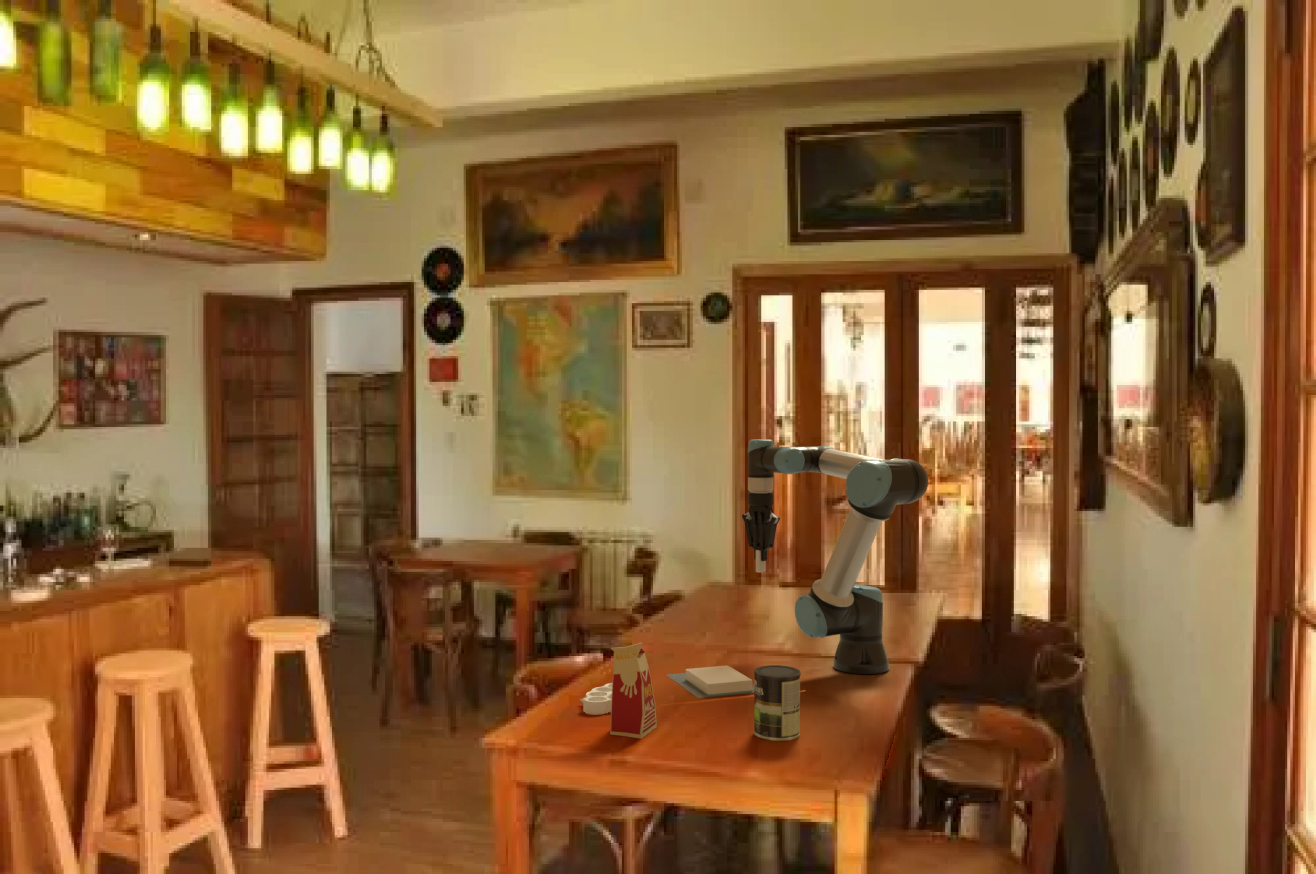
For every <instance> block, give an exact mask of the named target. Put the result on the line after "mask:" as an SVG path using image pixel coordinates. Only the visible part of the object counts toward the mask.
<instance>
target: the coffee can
mask: <svg viewBox="0 0 1316 874" xmlns="http://www.w3.org/2000/svg"><path fill="white" fill-rule="evenodd" d="M801 673H802V672H801V670H800V669H798V668H796V667H793V666H790V665H789V666H788V665H782V664H781V665H780V664H779V665H777V664H775V665H774V664H773V665H771V664H769V665H762V666H758V667H756V668H754V670H753V674H754V680H753V681H754V683H753V685H754V693H753V694H754V698H753V699H754V703H753V704H754V710H753V711H754V716H753V717H754V719H753V720H754V722H753V723H754V724H753V726H754V729H753V735H754V736H756V737H757V738H759V739H762V740H766V741H773V742H787V741H793V740H795V739H798V738H799V737H800V735H801V733H800V725H801V724H800V723H801V721H800V719H801V716H800V714H801V713H800V711H801V710H800V709H801V676H802V674H801Z"/></svg>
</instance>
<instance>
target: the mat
mask: <svg viewBox="0 0 1316 874" xmlns="http://www.w3.org/2000/svg"><path fill="white" fill-rule="evenodd" d="M666 677H668V678H670V679H671V680H672V681H674V682H675V683H676V684H678V685H679V686H681V687H682V688H683V689H685V690H686V691H688V692H689V693H690V694H692V695H693V696H694V697H696V698H697V699H704V698H705V699H706V698H713V697H714V698H715V697H723V696H732V695H733V696H734V695H743V694H752V693H753V694H754V685H755V684H754V683H752V692H746V693H735V694H725V695H715V696H707V695H706V694H704V693H703V692H702V691H700V690H699V689H697V688H696V687H694V686H693V685H692V684H690V683H689V682H687V681H686V672H681V673H680V672H678V673H669V674H666Z"/></svg>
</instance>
